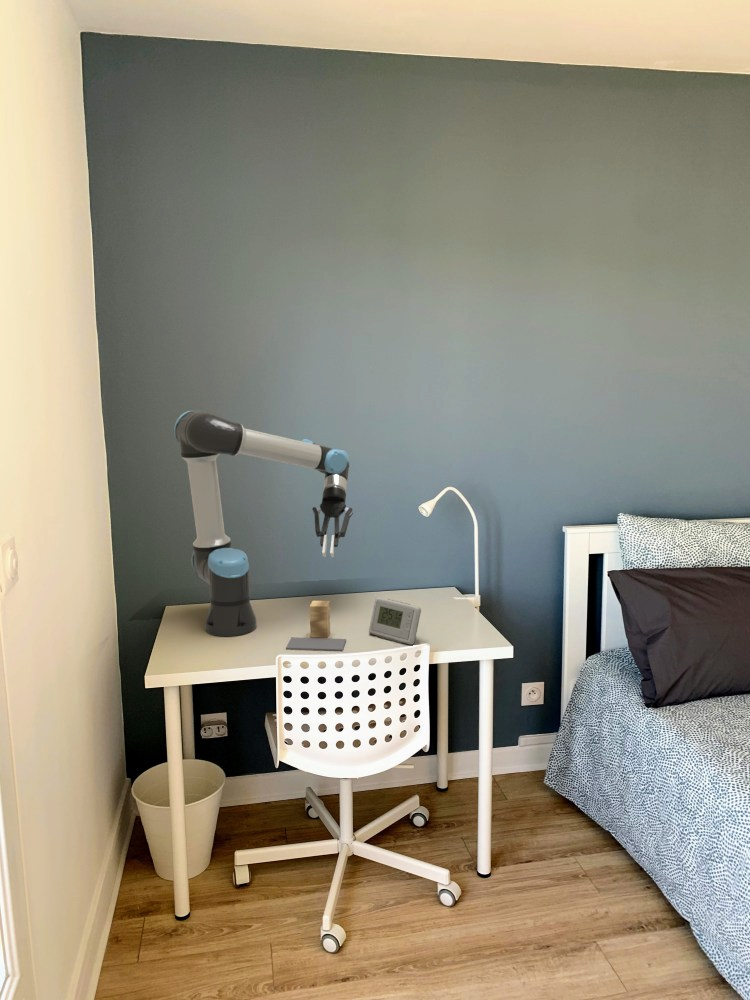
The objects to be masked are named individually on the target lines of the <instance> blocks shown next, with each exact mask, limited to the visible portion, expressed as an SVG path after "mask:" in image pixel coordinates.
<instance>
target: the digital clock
mask: <svg viewBox="0 0 750 1000" xmlns="http://www.w3.org/2000/svg"><path fill="white" fill-rule="evenodd" d="M421 613H422V608H421V607H420V606H416V605H412V604H410V603H408V602H403V601H398V600H395V599H391V598H390V599H389V598H383V597H379V596H378V597H376V598H375V601H374V603H373V609H372V613H371V614H372V615H371V619H370V624H369V626H368V627H369V629H368V632H369V634H371V635H374V636H377V637H378V638H382V639H386V640H389V641H393V642H396V643H400V644H406V645H414V644H415V642H416V638H417V632H418V628H419V622H420V617H421Z"/></svg>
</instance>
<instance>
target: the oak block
mask: <svg viewBox="0 0 750 1000" xmlns="http://www.w3.org/2000/svg"><path fill="white" fill-rule="evenodd" d="M330 602H331V601H330V600H312V601H311V603H310V605H309V626H310V629H309V631H310V633H309V635H310V636H309V638H329V637H330V634H331V609H330V608H331V607H330V606H331V604H330Z"/></svg>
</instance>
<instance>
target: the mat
mask: <svg viewBox="0 0 750 1000" xmlns="http://www.w3.org/2000/svg"><path fill="white" fill-rule="evenodd" d="M346 642H347V638H329V637H328V638H311V637H290V640H289V641H288V643H287V645H286V647H285V650H289V649H290V650H289V651H291V650H292V651H293V650H294V651H298V650H299V651H320V652H322V651H326V652H327V651H329V652H343V651H344V648H345V645H346Z"/></svg>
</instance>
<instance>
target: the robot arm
mask: <svg viewBox="0 0 750 1000" xmlns="http://www.w3.org/2000/svg"><path fill="white" fill-rule="evenodd" d="M173 431H174V432H173V434H174V437H175V439H176V441H177V442H178V443H179V450H180V457H181V459H183V460H184V461H185V462H186V464H187V470H188V471H187V472H188V477H189V478H188V479H189V486H190V493H191V500H192V502H191V503H192V511H193V517H194V518H193V519H194V525H195V532H196V539H195V540H194V541H193V542H192V548H193V549H192V550H193V552H192V554H191V560H190V561H191V566H192V569H193V571H194V574H196V576H197V577H199V578H200V579H202V580H203V581H204V582H205V583H206V584H207V585H209V598H210V599H209V601H210V606H209V608H208V612H207V615H206V619H205V632H207V633H208V634H210V635H212V636H216V637H217V636H218V637H236V636H242V635H245V634H248V633H251V632H252V631H255V630H256V628H257V618H256V614H255V613H254V612H255V611H254V609H253V606H252V604H251V597H250V573H249V572H250V570H249V569H250V564H249V558H248V555H247V554H246V552H244V551H243V550H242V549H236V548H234V547H232V541H231V537H229V536H228V535H227V534H226V532H225V524H224V516H223V508H222V507H223V506H222V499H221V491H220V484H219V483H220V482H219V474H218V466H217V465H218V463H217V458H218V457H219V456H220V455H228V456H233V457H236V456H237V455H239V454H240V455H244V456H249V457H255V458H258V459H259V458H260V459H264V460H268V461H274V462H278V463H283V464H288V465H293V466H299V467H302V468H307V469H313V470H315V471H318V472H319V473H320V474H321V473H322V474H323V475H324V481H323V482H324V484H323V488H322V489H323V491H322V498H321V499H322V500H321V503H320V504H319V506H317V507H316V506H312V509H311V510H312V513H313V515H314V530H315V535H316V537H317V538H319V539H320V540H319V545H320V547H321V548H322V549H321V551H322V552H321V553H322V557H323V558H326V557H327V549H328V539H329V538H328V535H327V533H328V527H329V524H330V520H331V518H333V519H334V532H333V533H334V534H332V535H331V539H330V540H331V542H330V550H329V554H330V558H334V557H335V556H334V555H335V548H338V547H339V540H340V538H345V537H346V533H347V530H348V526H349V523H350V519H351V517H352V516H353V514H354V511H353V508H352V507H347V505H346V501H347V500H346V498H347V487H348V480H349V479H348V477H349V469H350V456H349V454H348V452H347V451H345V450H344V449H339V448H332V447H328V446H326V445H325V446H324V445H320V444H317V443H315V442H314V441H313V440H310V439H307V438H304V439H302V440H296V439H294V438H293V439H292V438H288V437H284V436H280V435H275V434H270V433H267V432H261V431H258V430H255V429H254V430H253V429H249V428H245V427H244V426H243V424H242V423H238V422H235V421H231V420H228V419H226V418H224V417H223V418H222V417H221V416H218V415H216V414H214V413H212V412H211V413H210V412H206V411H203V410H200V409H198V410H196V409H195V410H187V411H185V412H183V413H182V414H181V415H180V416H179V417H178V418H177V419H176V420H175V423H174V427H173ZM321 512H322V514H323V515H324V518H323V521H322V527H321V525H320V523H321V522H320V514H321ZM343 513H344V518H343V521H342V524H341V527H340V516H341V515H343Z"/></svg>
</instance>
